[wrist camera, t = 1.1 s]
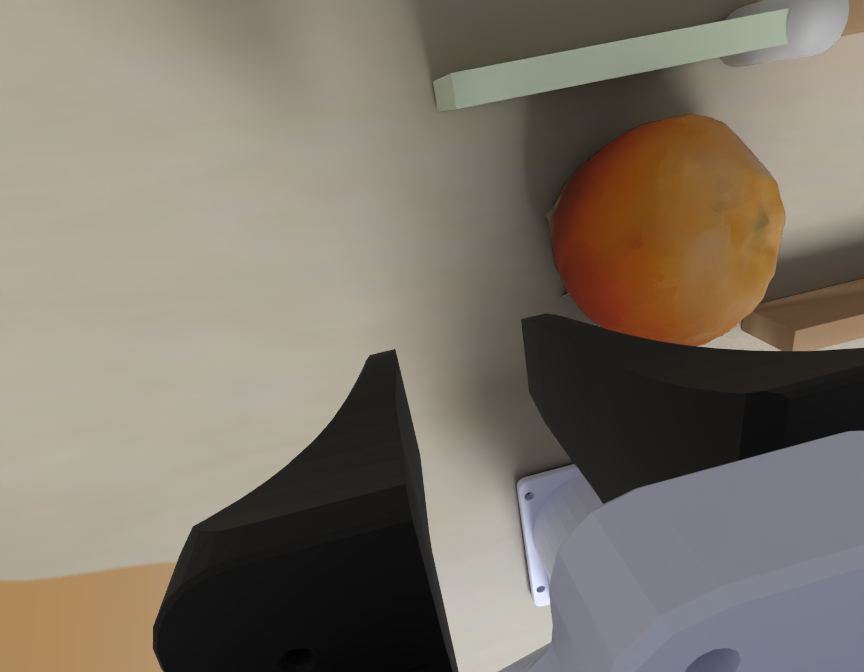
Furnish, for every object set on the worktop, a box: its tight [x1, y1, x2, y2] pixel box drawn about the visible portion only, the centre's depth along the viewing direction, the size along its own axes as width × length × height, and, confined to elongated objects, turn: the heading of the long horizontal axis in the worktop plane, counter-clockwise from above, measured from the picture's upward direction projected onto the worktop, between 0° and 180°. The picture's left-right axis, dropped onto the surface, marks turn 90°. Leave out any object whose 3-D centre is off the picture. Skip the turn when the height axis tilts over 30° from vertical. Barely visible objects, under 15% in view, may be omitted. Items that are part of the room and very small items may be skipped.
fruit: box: [543, 114, 785, 346], centre depth 19 cm, size 8×8×8 cm
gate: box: [433, 0, 849, 112], centre depth 17 cm, size 13×2×3 cm, turn 100°
